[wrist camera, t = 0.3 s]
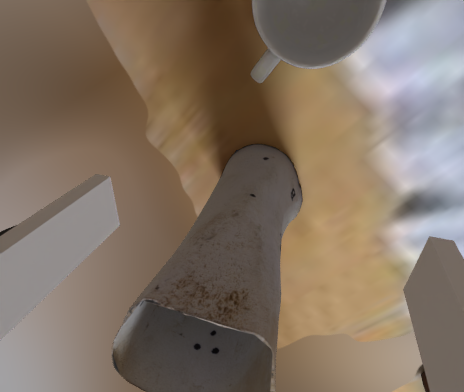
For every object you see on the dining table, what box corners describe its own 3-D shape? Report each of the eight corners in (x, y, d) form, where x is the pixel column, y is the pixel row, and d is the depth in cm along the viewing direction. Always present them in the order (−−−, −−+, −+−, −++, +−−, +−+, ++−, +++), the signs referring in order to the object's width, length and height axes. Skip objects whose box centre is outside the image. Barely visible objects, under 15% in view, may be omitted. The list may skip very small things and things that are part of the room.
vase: (327, 201, 42) (332, 423, 18) (249, 235, 48) (176, 431, 25) (279, 123, 38) (207, 270, 15) (201, 170, 45) (65, 326, 21)
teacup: (336, -99, 27) (337, -138, 20) (399, 7, 29) (418, 2, 22) (227, 21, 34) (201, 22, 27) (284, 98, 36) (273, 115, 30)
